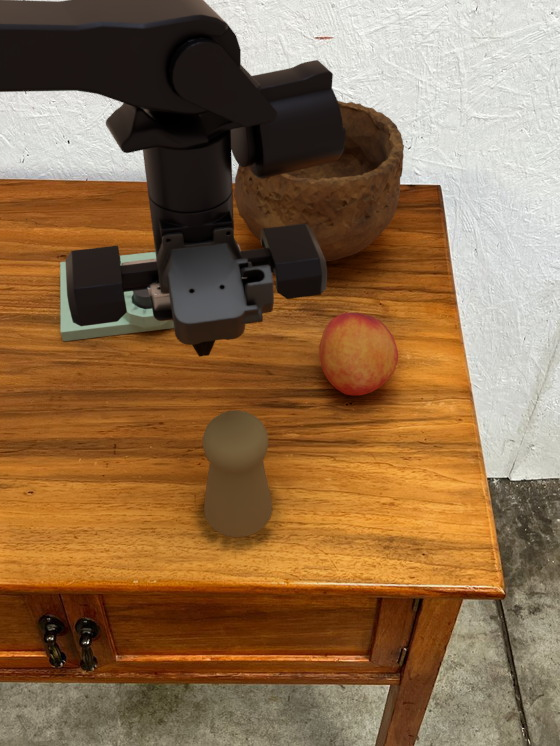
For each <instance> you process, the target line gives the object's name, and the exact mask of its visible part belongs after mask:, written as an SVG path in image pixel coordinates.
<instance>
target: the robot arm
mask: <svg viewBox="0 0 560 746" xmlns="http://www.w3.org/2000/svg"><path fill="white" fill-rule="evenodd" d="M239 43H240V42H239V40H238V37H237V35H236V33H235V32H234V31H233V29H232V28H231V27H230V25H229V24H228V23H227V22H226V21H225V20H224V18H222V17H221V16H220V15H219V14H218V12H216V11H215V10H214V8H212V7H211V6H210V5H209V4H208V3H207V2H206V1H205V0H59V1H58V0H55V1H54V0H0V93H19V92H23V93H25V92H81V93H88V94H95V95H100V96H102V97H106V98H107V99H108V98H109V99H111V100H114V101H117V102H120V103H122V104H121V106H119V107H118V108H116V109H115V110H114V111H113V112H112V113H111V114H110V115H109V116H108V117H107V119H106V120H105V126H106V128H107V129H108V131H109V132H110V135H111V136H112V137H113V139H114V141H115V142H116V144H117V145H118V147H119V148H120V151H122V152H123V153H125V154H130V153H135V152H139V151H142V156H143V164H144V172H145V180H146V188H147V197H148V205H149V213H150V221H151V228H152V236H153V243H154V252H155V253H156V259H148V260H139V261H131V262H124V263H122V264H121V260H120V256H121V254H120V248H119V245H117V244H116V245H110V246H101V247H93V248H84V249H75V250H71V251H70V252H69V254H68V255H67V257H66V258H65V261H66V283H67V297H68V304H69V309H70V313H71V317H72V321H73V323H75V324H77V325H79V326H88V325H96V324H103V323H111V322H117V321H119V320H120V319H121V318H122V317H123V316H124V315H125V314H126V313H127V309H126V302H125V296H124V292H128V291H136V290H144V289H148V293H149V296H150V298H151V304H152V311H153V316H154V318H155V319H156V320H158V321H166V320H173V322H174V328H173V330H174V333H175V335H174V336H175V337H176V339H177V341H178V342H180V343H181V344H183V345H186V346H192V348H193V349H194V351H195V352H196V354H197V356H198V357H199V358H201V357H208V356H210V354H211V352H212V349H213V348H214V345H215V343H216V341H221V340H226V341H229V340H231V341H232V340H235V339H238V338H240V337H241V336H242V335H243V334H244V332H245V329H246V325H248V324H256V323H263V320H264V317H263V315H264V314H269V313H272V312H273V310H274V303H275V295H274V294H275V293H274V288H275V290H276V293H277V294H279V295H280V296H282V297H284V298H285V300H286V299H287V300H293V299H299V298H300V299H301V298H305V297H306V298H307V297H315V296H321V295H322V294H323V293H324V292H325V291H326V289H327V282H328V268H327V262H326V261H325V258H324V256H323V253H322V251H321V249H320V246H319V244H318V241H317V239H316V236H315V234H314V232H313V230H312V229H311V228H310V227H309V226H308V225H307V224H297V225H289V226H280V227H271V228H263V229H262V230H261V241H260V245H261V248H254V249H246V250H241V247H240V244H239V243H238V242H237V240H236V238H235V222H234V221H235V220H234V219H235V217H234V194H233V193H234V192H233V163H232V161H233V160H232V159H233V158H234V159H235V162H236V163H237V164H238V166H239V165H240V166H241V167H243V168H244V167H248V166H249V168H250V169H251V171H252V172H253V174H254V175H255V176H257V177H258V178H260V179H264V178H268V177H272V176H276V175H280V174H285V173H289V172H293V171H297V170H301V169H305V168H309V167H313V166H317V165H321V164H326V163H330V162H334V161H336V160H338V159H339V158H340V156H341V155H342V153H343V150H344V146H345V140H346V130H345V128H344V127H343V123H342V116H341V111H340V107H339V104H338V101H339V100H338V98H337V96H336V93H335V92H334V89H333V77H334V73H333V72H332V71H330V69H329V68H328V67H326V66H325V65H324V64H323V63H322V62H320V61H319V59H315V60H314V59H313V60H309V61H304V62H301V63H299V64H297V65H295V66H293V67H289V68H285V69H280V70H274V71H268V72H264V73H260V74H254V75H252V74H251V73H250V72H249V71H248V70H247V69H246V68H245V67H244V66H243V65H242V64H241V62H242V61H241V59H242V58H241V57H242V55H241V52H242V51H241V47H240V44H239ZM232 156H233V158H232ZM65 261H64V262H65ZM273 274H274V278H275V287H274V278H273Z"/></svg>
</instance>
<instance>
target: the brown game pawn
mask: <svg viewBox="0 0 560 746" xmlns="http://www.w3.org/2000/svg"><path fill="white" fill-rule="evenodd" d="M268 434H269V433H268V431H267V429H266V427H265V425H264V423H263V421H262V420H261V419H259V418H258V417H257V416H255V415H254V414H252V413H250V412H248V411H244V410H239V409H236V410H226V411H223V412H221V413H219V414H218V415H216V416H215V417H213V418H212V419H211V420H210V421H209V422H208V424H207V425H206V427H205V429H204V433H203V435H202V447H203V448H202V449H203V450H202V451H203V452H204V454H205V457H206V459H207V461H208V462H209V463H208V465H209V466H208V472H207V480H206V488H205V495H204V503H203V515H204V517H205V520H206V522H207V524H208V525H209V526H210V527H211V528H212V529H213V530H214V531H215V532H217V533H219V534H221V535H222V536H225V537H226V536H227V537H232V538H245V537H248V536H251V535H254V534H257V533H258V532H260V531H261V530H262V529H264V528H265V527H266V525H267V524H268V523H269V521H270V519H271V517H272V514H273V510H274V508H273V501H272V496H271V490H270V487H269V482H268V477H267V473H266V472H267V471H266V468H265V462H264V459H265V457H266V455H267V452H268V449H269V435H268Z"/></svg>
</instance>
